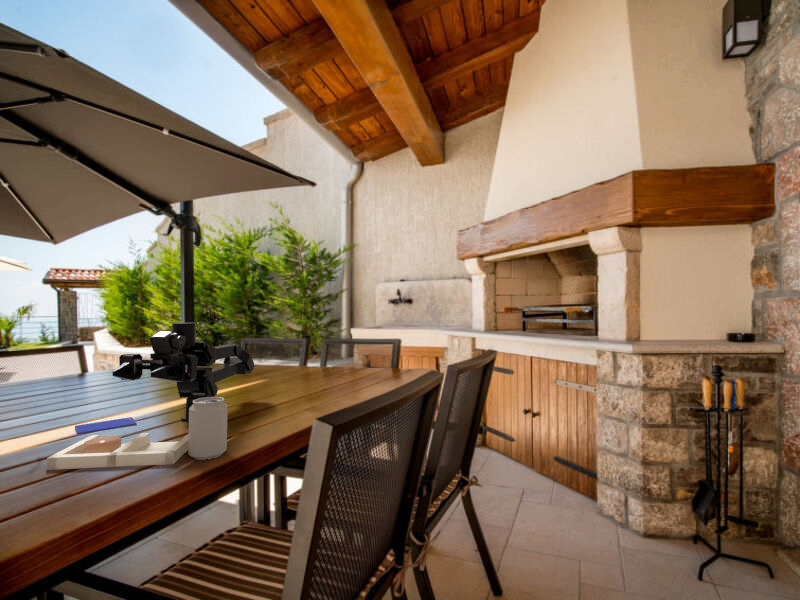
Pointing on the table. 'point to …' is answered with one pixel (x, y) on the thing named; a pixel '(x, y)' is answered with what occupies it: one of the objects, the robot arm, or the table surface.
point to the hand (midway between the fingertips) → (132, 374)
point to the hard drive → (105, 425)
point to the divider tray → (120, 454)
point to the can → (207, 428)
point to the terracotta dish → (102, 444)
